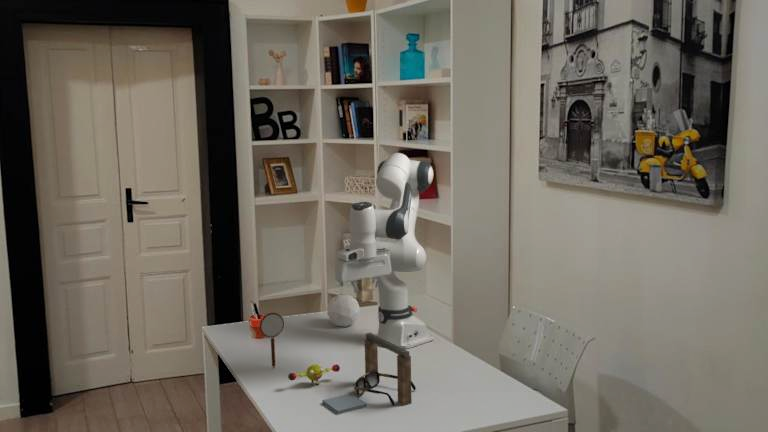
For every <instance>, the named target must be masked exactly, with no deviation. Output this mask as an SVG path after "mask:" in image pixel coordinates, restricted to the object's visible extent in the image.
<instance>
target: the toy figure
mask: <svg viewBox="0 0 768 432" xmlns="http://www.w3.org/2000/svg"><path fill="white" fill-rule="evenodd" d="M331 370H332V371H333V372H335V373H337V372H339V371H340V365H339V364H333V365H332V367H331V368H324V369H323V368H322V367H321V366H320V365H318V364H311V365H309V366H308V367H307V369H306V371H305V372H303V373H299V374H296V373H295V372H290V373H289V374H288V375H287V378H288V380H289V381H294V380H296V379H297V377H300V378H302V377H307V378H308V379H309V380H310V381H311V384H310V385H311V387H312V386H315V384H316V385H317V386H318V385H320V383H319V380H320V379H321V378H322V376H323V374H324V373H326V372H327V373H329V371H331ZM314 382H315V384H314Z"/></svg>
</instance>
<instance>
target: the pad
mask: <svg viewBox="0 0 768 432" xmlns="http://www.w3.org/2000/svg"><path fill="white" fill-rule="evenodd" d="M322 404H323V405H324V406H326V407H327V408H328V409H330V410H331V411H332V412H334V413H336V414H337V415H341V414H344V413H348V412H352V411H355V410H359V409H363V408H366V407H368V403H367V402H366V401H364V400H362V399H361V398H359V397H358V396H356V395H355V394H353V393H351V392H350V393H345V394H342V395H337V396H334V397H330V398H329V397H328V398H325V399H322Z"/></svg>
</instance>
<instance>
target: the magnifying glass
mask: <svg viewBox="0 0 768 432" xmlns="http://www.w3.org/2000/svg"><path fill="white" fill-rule="evenodd" d="M284 326H285V322H284V318H283V317H282V315H280V314H279V313H276V312H269V313H266V315H264V316H263V317H262V318H261V320H260V323H259V330H260V332H261V334H262V335H263V336H264V337H267V338H270V348H271V349H270V350H271V351H270V353H271V367H272V369H275V368H276V349H275V348H276V347H275V346H276V345H275V338H276V337H278V336H279V335H280V334H281V333H282V331H283V330H284Z"/></svg>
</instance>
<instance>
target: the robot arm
mask: <svg viewBox="0 0 768 432" xmlns="http://www.w3.org/2000/svg"><path fill="white" fill-rule="evenodd" d="M433 179H434V169H433V166H432V165H431V163H430V162H428V161H424V160H421V161H420V160H413V159H410V158H409V157H408V156H407V155H406V154H404V153H401V152H395V153H392V154H390V155H388V157H387V158H386V159H384V160H382V161H381V162H380V163H379V164H378V167H377V171H376V179H375V186H376V188H377V190H378V192H379V193H380V194H381V195H382V196H383V197H385V198H387V199H390V200H391V203H390V207H389V208H388V209H378V208H377V209H376V208H374V205H373V203H371V202H369V201H360V202H356V203H353V204H352V205H351V207H350V212H349V221H348V222H349V224H348V226H349V227H348V228H349V233H350V240H349V245H348V246H346V247H344V248H343V249H340V250H338V251H337V252H336V258H337V260H336V262H335V267H334V275H335V277H334V278H335V280H336V282H338V283H341V284H344V283H348V282H350V283H351V286H352V287H353V292H354V294H356V293H360V287H358V286H357V285H356V283H357V280H361V278H366V277H372V288H373V291H375V286H376V285H377V290H378V302H379V303H378V305H379V306H378V307H377V309H378V310H377V311H378V312H377V313H378V314H377V315H378V316H377V317H378V329H377V335H376V336H378V337H380V338H382V339H384V340H386V341H388V342H390V343H392V344H394V345H396V346H398V347H400V348H403V349H405V350H407V349H411V348H414V347H417V346H421V345H423V344H426V343H429V342H432V341H434V336H433V335H432V334H431V333H429V332H428V328H427V325H426V323H425V321H423V320H422V319H419V317H417V316H416V315H414V314H413V313H417V312H418V308H417V307H416V306H412V305H409V288H408V286H407V284H406V283H405V281H403V280H401V279H400V278H398V277H397V275H396V274H395V272H397V273H398V272H400V273H401V272H402V273H412V272H420V271H421V270H422V269H423V268H424V267H425V266H426V264H427V263H426V262H427V252H426V250H425V249H424V247H423V246H422V245H421V244H420V243H419V242H418V240H417V237H416V234H415V231H416V230H415V228H416V224H417V223H416V222H417V218H418V213H419V206H420V194H423V193H424V192H425V190H427V189H428V188H430V186H431V185H432V184H433V183H432V182H433ZM376 238H378V239H379V238H380V239H392V240H395V241H379V240H378V241H377V239H376Z"/></svg>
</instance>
